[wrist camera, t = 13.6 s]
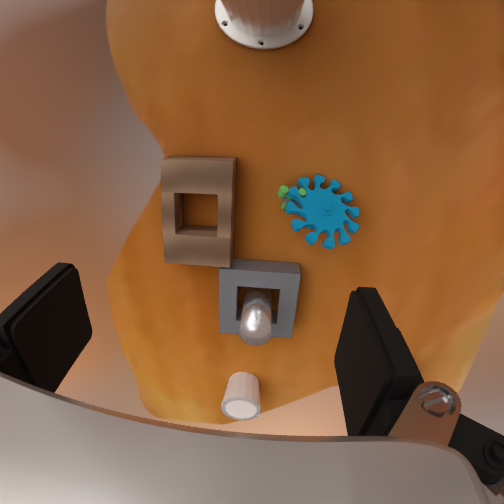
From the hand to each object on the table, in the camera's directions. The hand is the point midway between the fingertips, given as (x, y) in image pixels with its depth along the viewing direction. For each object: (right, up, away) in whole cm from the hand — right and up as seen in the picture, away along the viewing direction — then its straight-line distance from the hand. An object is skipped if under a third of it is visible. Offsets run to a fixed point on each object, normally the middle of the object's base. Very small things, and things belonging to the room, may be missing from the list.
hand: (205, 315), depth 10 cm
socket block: (+2, -4, +38) cm, 38 cm away
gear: (+10, +9, +32) cm, 35 cm away
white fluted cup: (0, -22, +46) cm, 51 cm away
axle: (+2, -4, +38) cm, 38 cm away
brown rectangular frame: (-5, +8, +33) cm, 34 cm away
